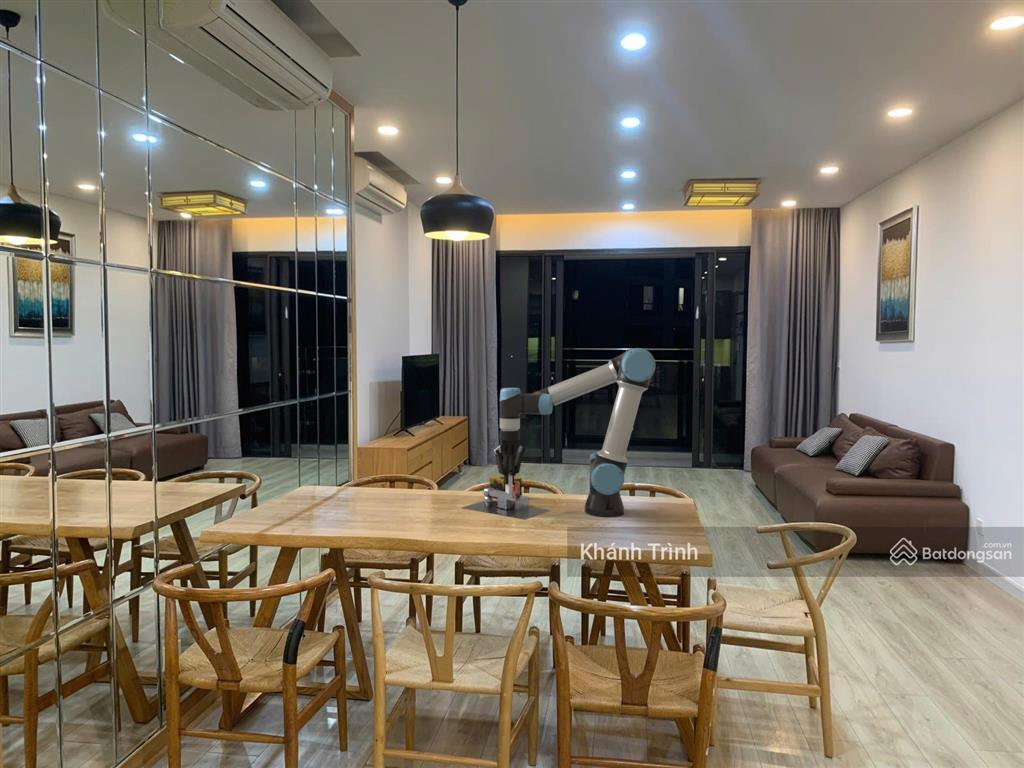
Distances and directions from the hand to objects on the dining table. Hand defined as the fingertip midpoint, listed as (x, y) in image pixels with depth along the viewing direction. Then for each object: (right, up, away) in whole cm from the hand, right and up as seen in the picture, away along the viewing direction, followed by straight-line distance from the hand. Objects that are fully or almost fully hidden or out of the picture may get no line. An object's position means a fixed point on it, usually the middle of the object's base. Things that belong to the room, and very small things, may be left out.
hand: (508, 492), depth 247 cm
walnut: (+1, -8, +11) cm, 13 cm away
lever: (-3, -7, +8) cm, 11 cm away
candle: (-1, -9, +29) cm, 30 cm away
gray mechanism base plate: (-1, -9, +8) cm, 12 cm away
